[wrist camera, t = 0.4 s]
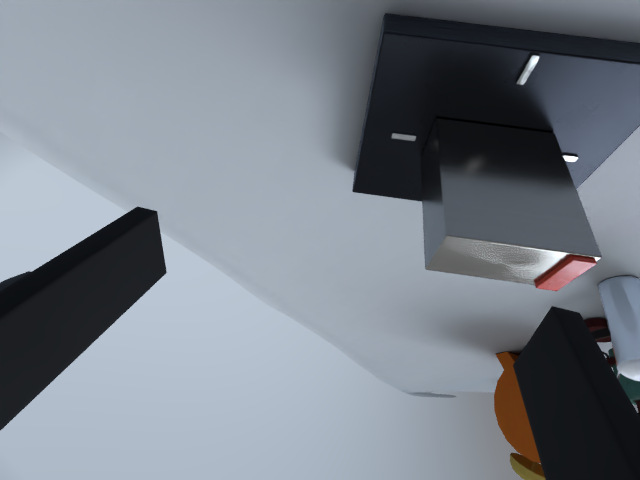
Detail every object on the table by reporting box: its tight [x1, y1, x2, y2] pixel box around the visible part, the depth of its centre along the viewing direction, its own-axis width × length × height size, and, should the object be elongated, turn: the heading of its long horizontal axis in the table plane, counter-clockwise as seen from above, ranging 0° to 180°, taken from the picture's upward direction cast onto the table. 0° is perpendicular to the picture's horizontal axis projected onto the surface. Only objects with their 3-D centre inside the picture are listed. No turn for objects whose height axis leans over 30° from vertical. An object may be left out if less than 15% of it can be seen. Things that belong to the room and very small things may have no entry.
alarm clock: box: [494, 352, 546, 480], centre depth 46 cm, size 13×6×20 cm, turn 153°
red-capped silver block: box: [420, 118, 602, 291], centre depth 18 cm, size 6×3×8 cm, turn 87°
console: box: [353, 14, 640, 201], centre depth 21 cm, size 14×11×2 cm
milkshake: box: [599, 276, 640, 381], centre depth 31 cm, size 4×5×10 cm
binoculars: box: [584, 318, 640, 417], centre depth 36 cm, size 9×11×10 cm
